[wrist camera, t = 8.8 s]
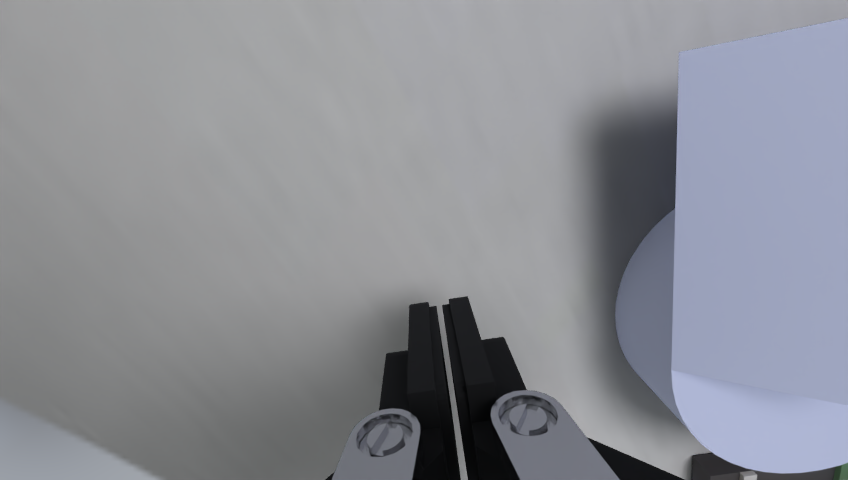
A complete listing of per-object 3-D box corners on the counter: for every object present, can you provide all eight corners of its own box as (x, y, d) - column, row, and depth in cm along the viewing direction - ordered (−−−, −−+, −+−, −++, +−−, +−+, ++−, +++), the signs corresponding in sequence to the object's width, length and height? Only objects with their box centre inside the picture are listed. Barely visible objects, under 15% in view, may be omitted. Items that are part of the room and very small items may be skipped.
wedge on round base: (609, 72, 12) (616, 417, 16) (826, 8, 6) (756, 616, 9) (901, 26, 12) (842, 385, 16) (1457, -92, 6) (1144, 565, 9)
